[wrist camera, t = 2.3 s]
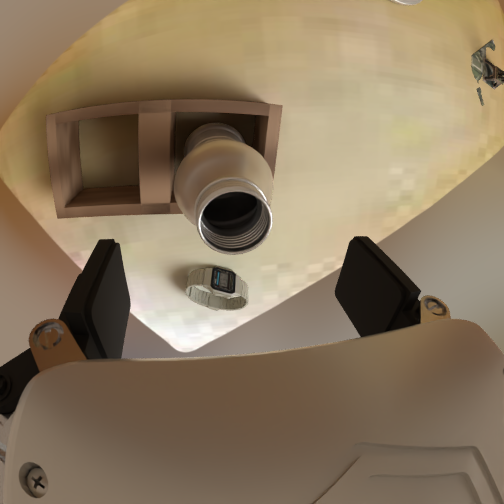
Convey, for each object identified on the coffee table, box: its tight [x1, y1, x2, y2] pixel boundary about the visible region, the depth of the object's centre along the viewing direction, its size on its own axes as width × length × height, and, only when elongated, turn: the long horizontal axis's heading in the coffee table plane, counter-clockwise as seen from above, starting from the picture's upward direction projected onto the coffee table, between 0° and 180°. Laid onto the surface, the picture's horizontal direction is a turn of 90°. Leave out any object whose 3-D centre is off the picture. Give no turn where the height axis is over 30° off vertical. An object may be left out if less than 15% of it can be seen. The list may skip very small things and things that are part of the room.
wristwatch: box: [185, 266, 248, 311], centre depth 38 cm, size 9×6×5 cm
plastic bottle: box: [174, 123, 273, 255], centre depth 21 cm, size 6×7×20 cm
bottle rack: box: [46, 99, 283, 219], centre depth 26 cm, size 11×23×6 cm, turn 84°
